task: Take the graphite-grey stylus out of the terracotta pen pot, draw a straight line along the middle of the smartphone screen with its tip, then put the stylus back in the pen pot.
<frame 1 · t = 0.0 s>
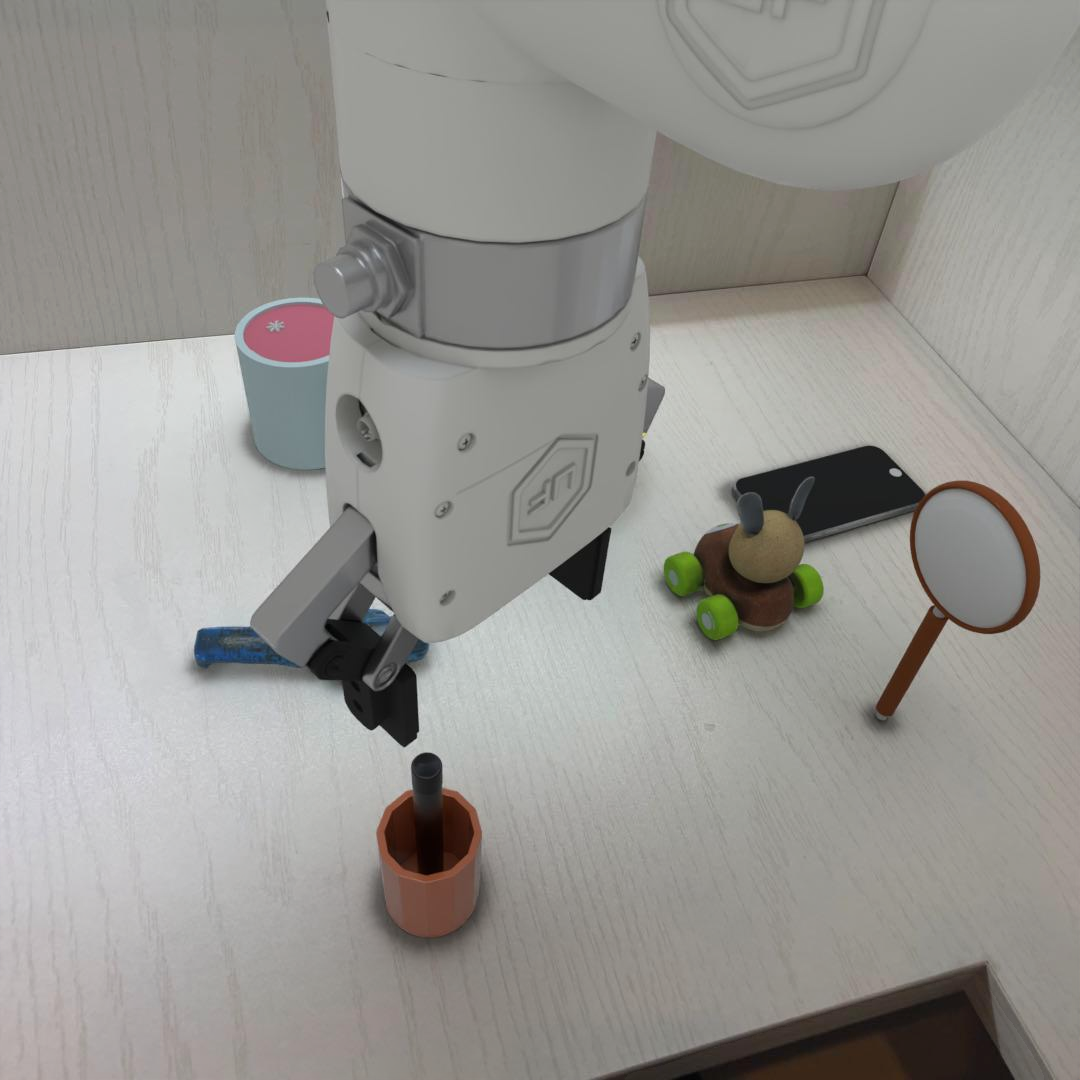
hand: (481, 643, 37), 23 cm above the table, tool pointing down, fingers open, 9 cm apart
stylus: (431, 887, 54), resting on pen pot
magnifying glass: (879, 719, 65), on the table
smartphone: (828, 497, 79), on the table
toy car: (737, 595, 71), on the table
mug: (327, 448, 80), on the table
figurine: (317, 665, 65), on the table
bowl: (542, 472, 79), on the table
pen pot: (431, 891, 54), on the table
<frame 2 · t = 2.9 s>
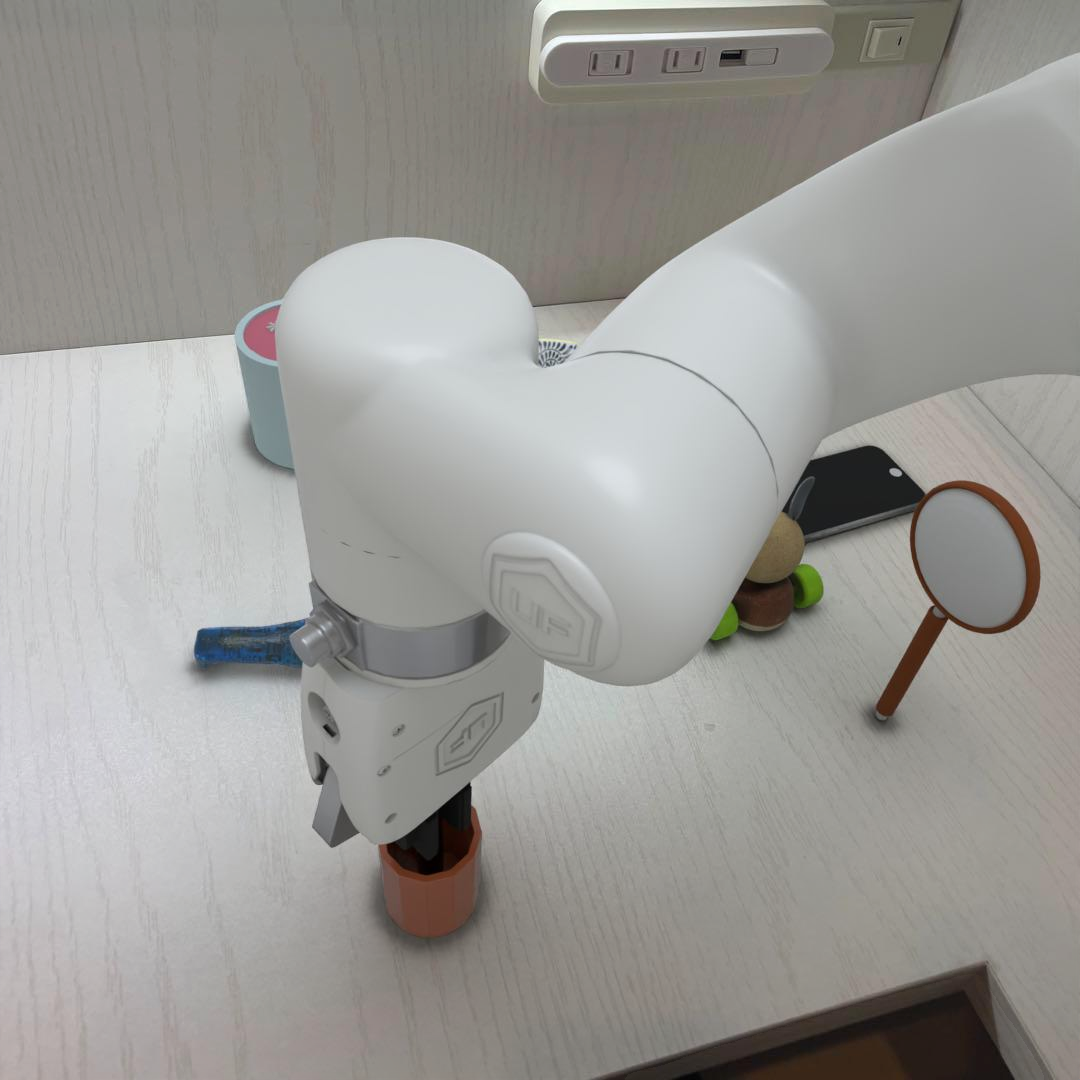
hand: (428, 822, 49), 8 cm above the table, tool pointing down, fingers closed on stylus, 1 cm apart
stylus: (431, 887, 54), resting on pen pot, touching gripper
everything else where it was.
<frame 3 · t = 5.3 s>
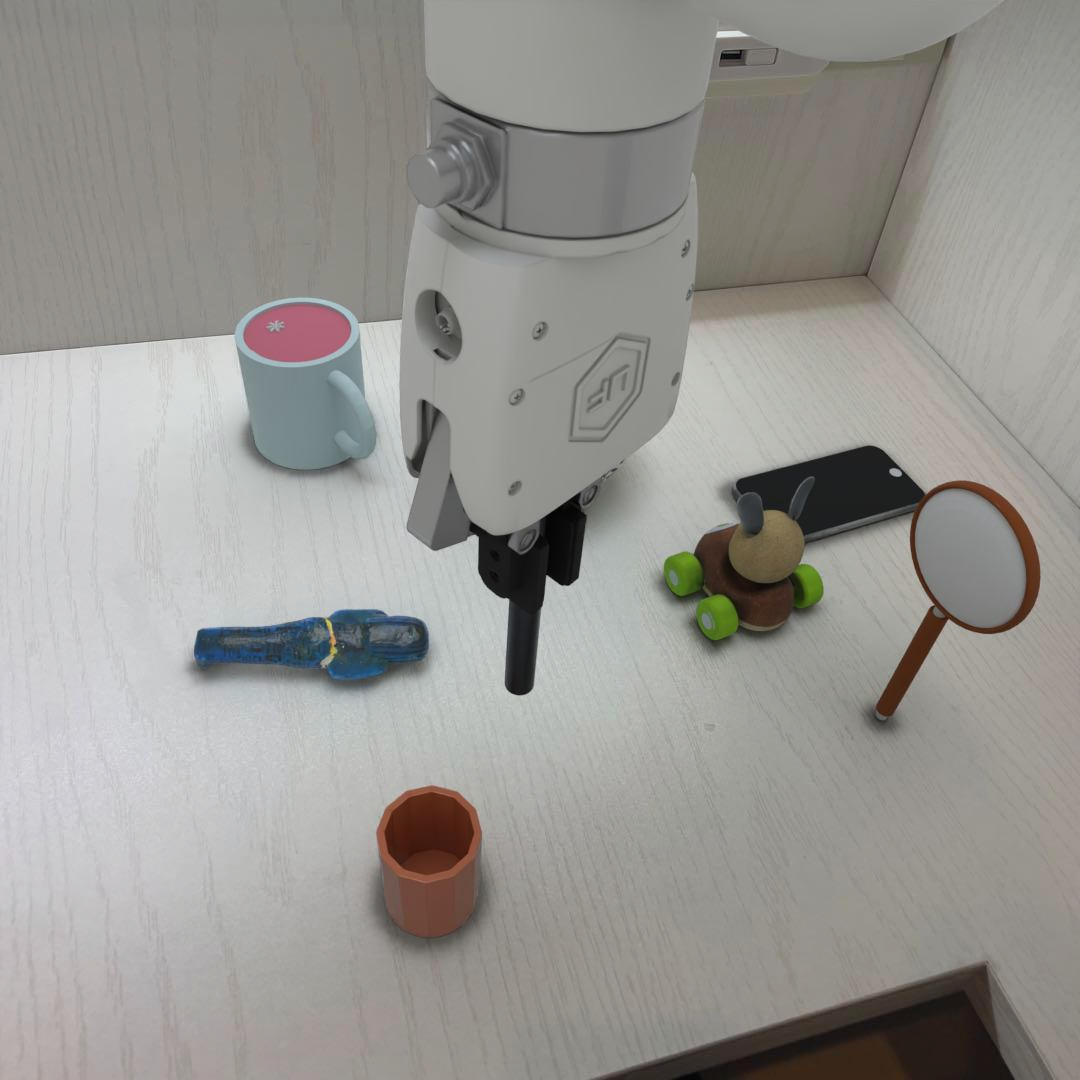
hand: (528, 577, 40), 23 cm above the table, tool pointing down, fingers closed on stylus, 1 cm apart
stylus: (519, 683, 46), point 15 cm above the table, touching gripper
everything else where it was.
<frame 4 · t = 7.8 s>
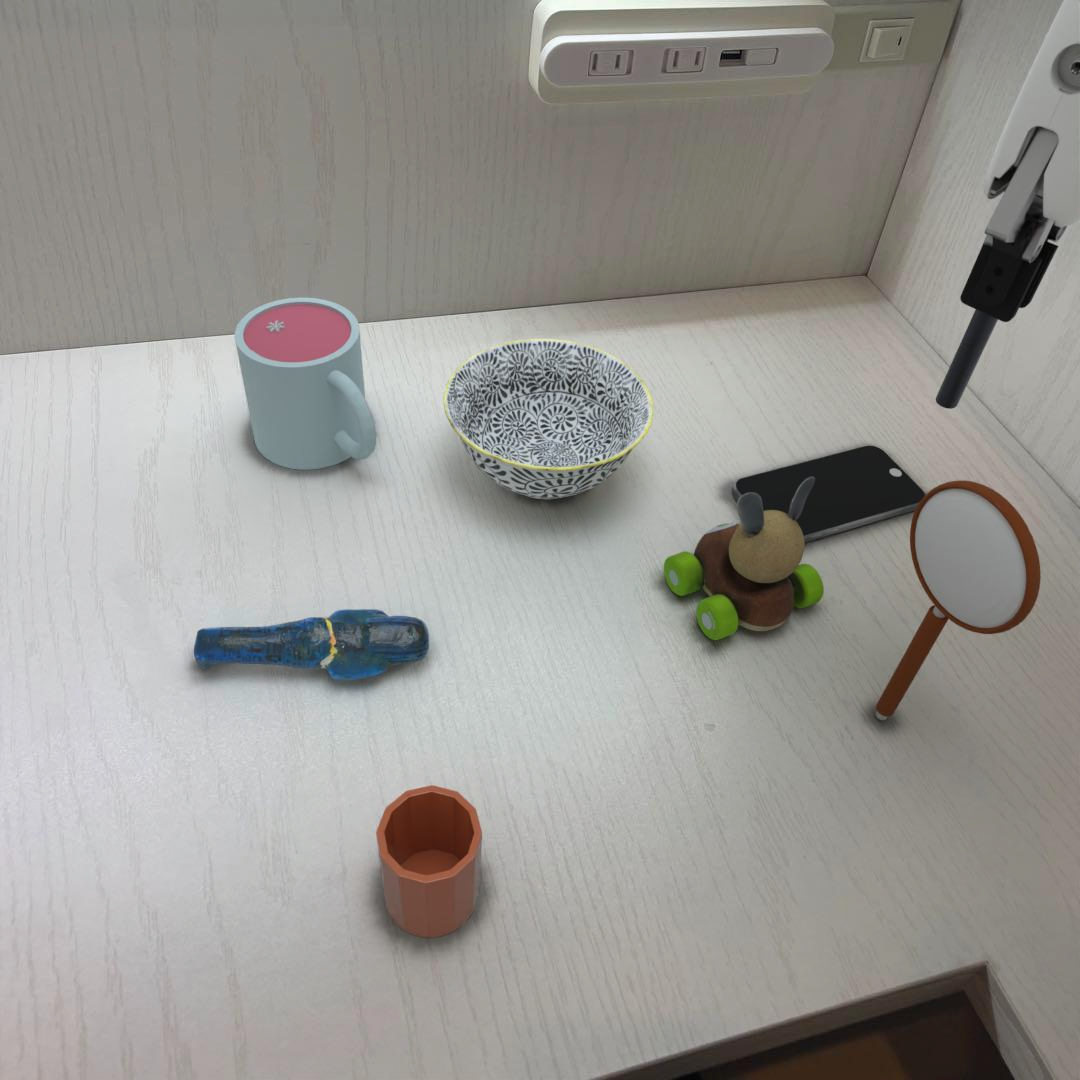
hand: (994, 302, 57), 23 cm above the table, tool pointing down, fingers closed on stylus, 1 cm apart
stylus: (946, 402, 63), point 16 cm above the table, touching gripper
everything else where it was.
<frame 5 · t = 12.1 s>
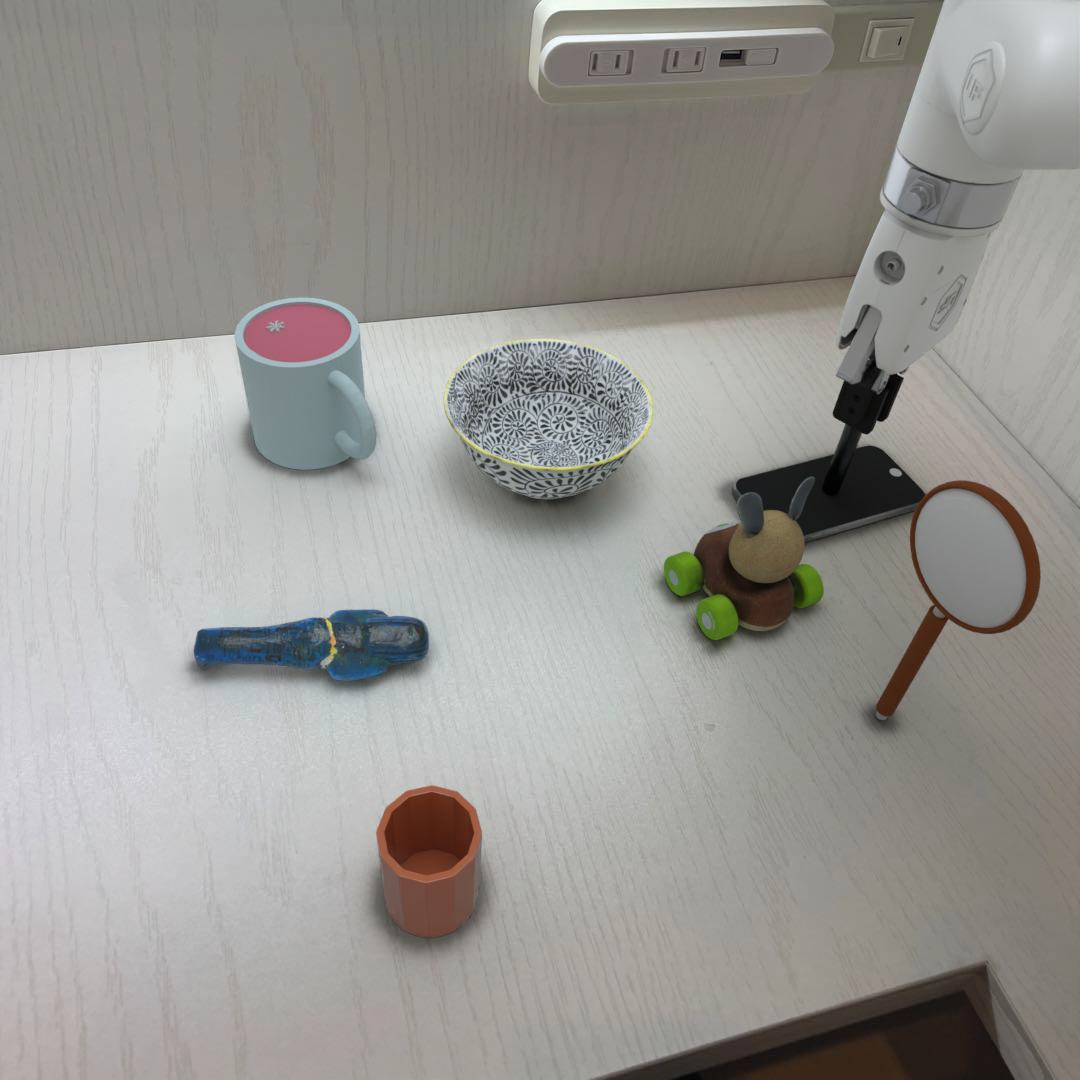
hand: (859, 417, 73), 8 cm above the table, tool pointing down, fingers closed on stylus, 1 cm apart
stylus: (830, 489, 78), point 1 cm above the table, touching gripper
everything else where it was.
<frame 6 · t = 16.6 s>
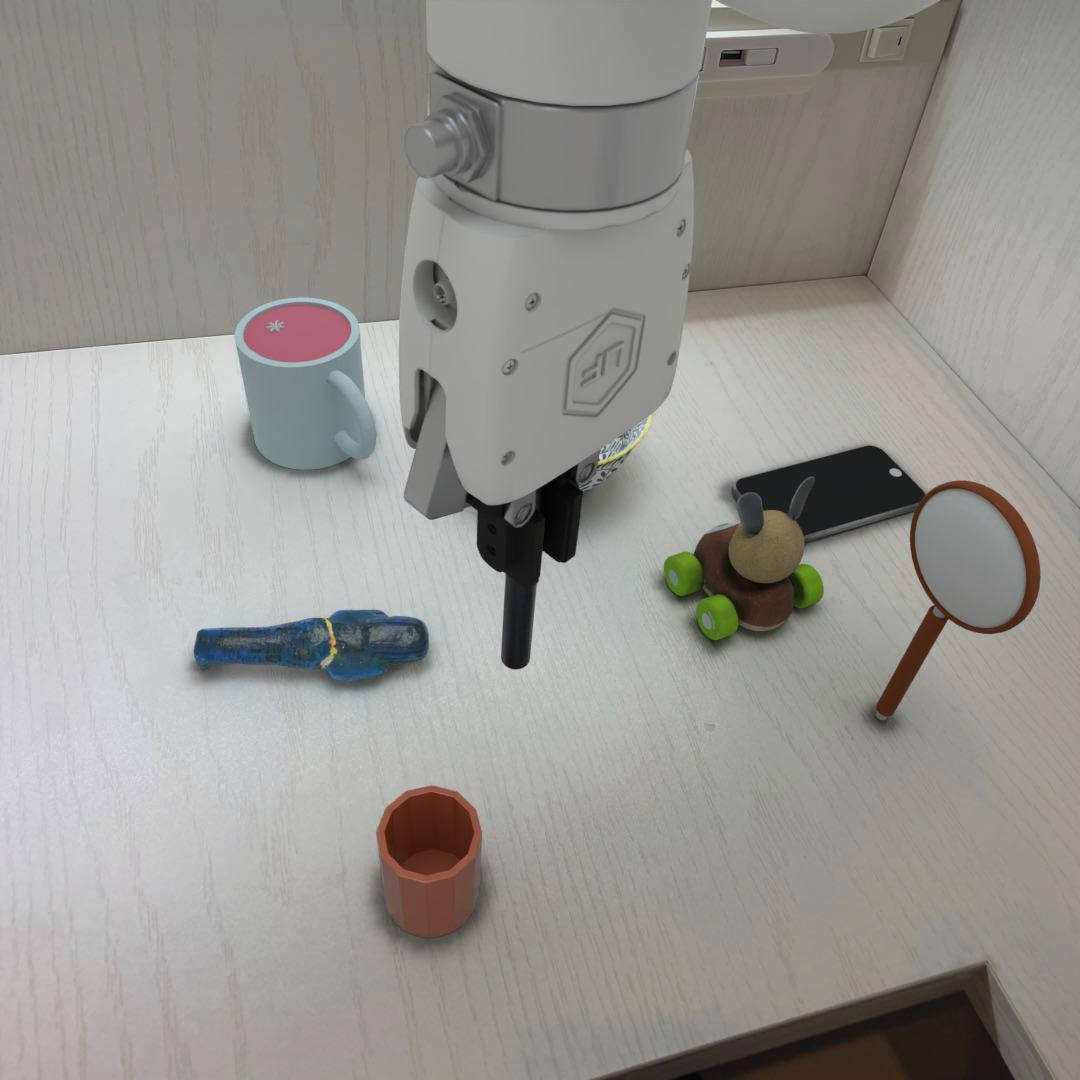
hand: (525, 553, 41), 23 cm above the table, tool pointing down, fingers closed on stylus, 1 cm apart
stylus: (515, 658, 47), point 16 cm above the table, touching gripper
everything else where it was.
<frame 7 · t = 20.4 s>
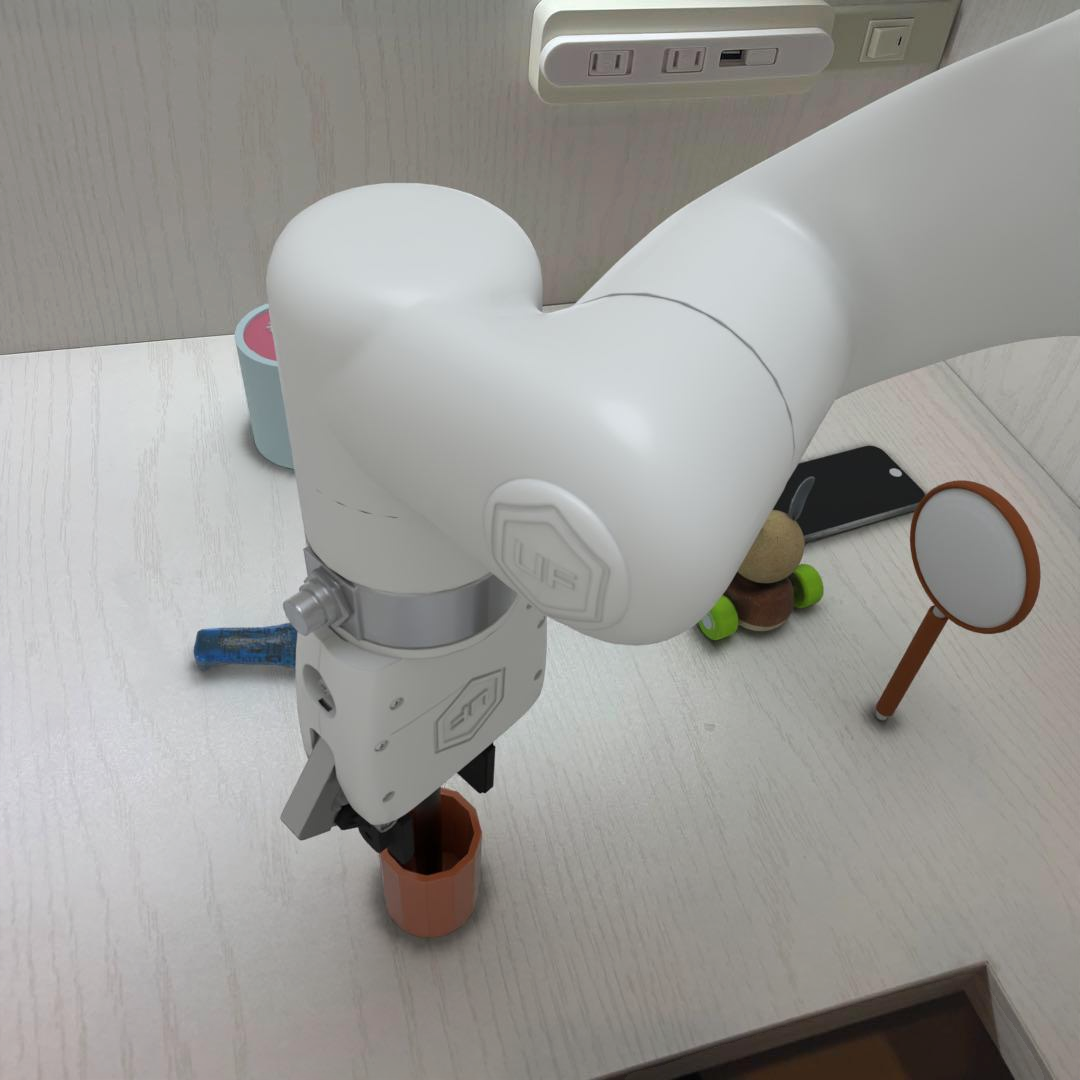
hand: (428, 803, 47), 10 cm above the table, tool pointing down, fingers open, 4 cm apart
stylus: (430, 885, 54), resting on pen pot
everything else where it was.
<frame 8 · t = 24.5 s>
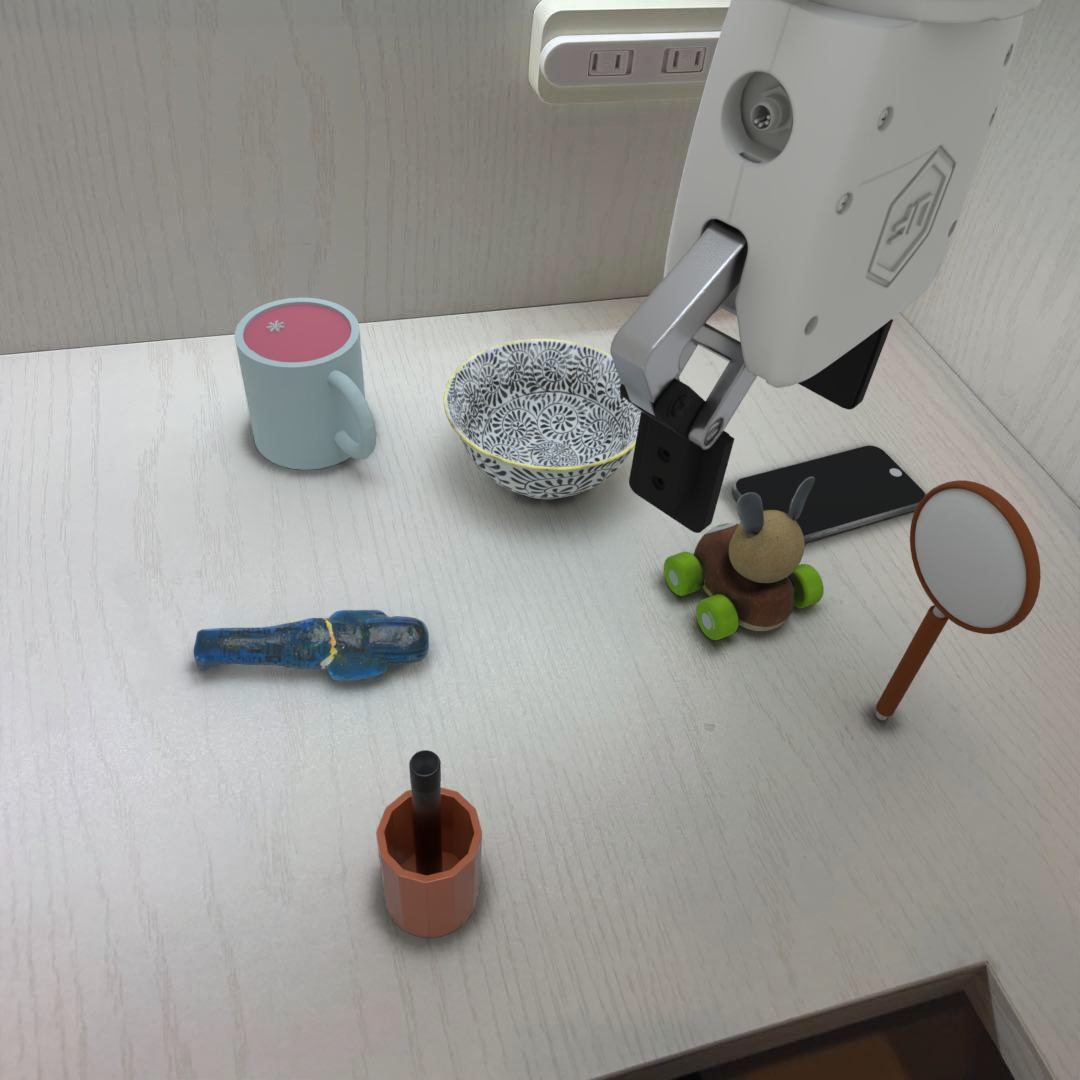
hand: (750, 445, 36), 30 cm above the table, tool pointing down, fingers open, 9 cm apart
nothing on the table moved.
at the end: stylus 0.1 cm off-centre in the pen pot, point 0.5 cm above the pen pot's base; smartphone moved 0.0 cm from its start; the gripper is holding nothing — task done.
